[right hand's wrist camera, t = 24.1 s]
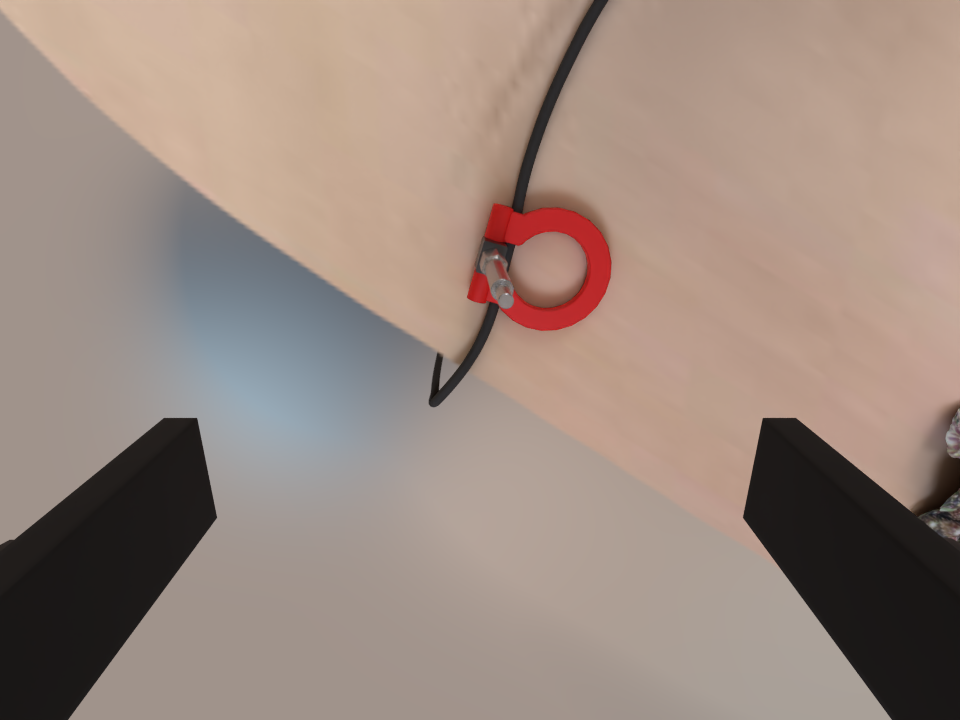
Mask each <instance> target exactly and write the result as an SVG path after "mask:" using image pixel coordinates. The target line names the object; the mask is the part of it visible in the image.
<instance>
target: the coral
mask: <svg viewBox="0 0 960 720" xmlns="http://www.w3.org/2000/svg"><path fill="white" fill-rule="evenodd" d="M946 442H947V444H948V445H947V447H948V449H947V452H948V454H949V455H950V456H951V457H953V458H960V408H959V409H958V411H957V413H956V415H955V416H954V417H953V421H952V424H951V425H950V429H949V430H948V432H947V434H946ZM940 508H941V509H937V510H933V511H930V512H927V513H925V514H922V515H920V516H918V518H919V519H921V520H922V521H923V522H924V523H926V524H927V525H928V526H929V527H930V528H932V529H933V530H934V531H935V532H937V533H938V534H939V535H940V536H942V537H943V538H952V539H954V540H956V541H958V542H959V543H960V488H959V490H958V491H957V492H956V493H955V494H953V495H952V496H951V497H949V498H948V499H947V500H946V502H945V503H944V504H943V505H942V506H941V507H940Z"/></svg>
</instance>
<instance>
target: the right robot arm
mask: <svg viewBox="0 0 960 720" xmlns="http://www.w3.org/2000/svg"><path fill="white" fill-rule="evenodd" d="M607 2H608V0H594V2H593V3H592V5H591V7H590V8H589V10H588V12H587V13H586V15H585V17H584V19H583V20H582V22H581V24H580V26H579V28H578V30H577V32H576V34H575V36H574V38H573V40H572V41H571V44H570V46H569V48H568V50H567V52H566V54H565V56H564V58H563V60H562V62H561V64H560V66H559V68H558V71H557V73H556V75H555V77H554V79H553V82H552V84H551V86H550V88H549V91H548V93H547V95H546V98H545V100H544V103H543V105H542V108H541V110H540V113H539V115H538V118H537V121H536V123H535V126H534V129H533V132H532V135H531V138H530V141H529V144H528V147H527V150H526V153H525V156H524V159H523V163H522V167H521V170H520V174H519V178H518V182H517V187H516V191H515V196H514V201H513V206H512V209H514V210H513V211H514V212H517V213H521V214H522V211H523V206H524V201H525V196H526V191H527V187H528V183H529V179H530V175H531V171H532V168H533V164H534V161H535V158H536V155H537V152H538V149H539V146H540V143H541V140H542V137H543V134H544V131H545V129H546V126H547V123H548V121H549V118H550V115H551V113H552V110H553V108H554V105H555V103H556V101H557V98H558V96H559V94H560V92H561V89H562V87H563V85H564V83H565V81H566V78H567V76H568V74H569V72H570V70H571V68H572V66H573V64H574V62H575V60H576V58H577V56H578V54H579V52H580V50H581V48H582V46H583V44H584V42H585V40H586V38H587V36H588V34H589V32H590V30H591V29H592V27H593V25H594V23H595V22H596V20H597V18H598V16H599V15H600V13H601V11H602V10H603V8H604V6H605V5H606V3H607ZM505 244H506V246H507V248H508V249H507V253H506V256H505V259H506V261H507V263H508V266H507V269H506V271H507V273H508V270H509V266H510V262H511V259H512V255H513V251H514V248H515V245H514V244H511V243H507V242H505ZM498 309H499V305H498V304H496V303H493V302H490V304H489V307H488V310H487V314H486V316H485V319H484V322H483V325H482V327H481V329H480V332H479V334H478V336H477V338H476V340H475V342H474V344H473V346H472V348H471V349H470V351H469V353H468V354H467V356H466V358H465V359H464V361H463V362H462V363H461V365H460V366H459V368H458V369H457V370H456V372H455V373H454V374H453V375H452V377H451V378H450V379H449V380H448V381H447V383H446V384H445V385H444V386H443V387H442V388H441V389H440V390H439V383H440V373H441V367H442V361H443V356H444V355H443V354H441V353H439V352H437V356H436V360H435V365H434V371H433V376H432V384H431V393H430V397H429V405H430V406H431V407H436V406H438V405H439V404H440V403H441V402H442V401H443V400H444V399H445V398H446V397H447V396H448V395H449V394H450V393H451V392H452V391H453V389H454V388H455V387H456V386H457V385H458V384H459V382H460V381H461V380H462V379H463V377H464V376H465V375H466V373H467V372H468V371H469V369H470V368H471V366H472V365H473V363H474V362H475V360H476V359H477V357H478V355H479V354H480V352H481V350H482V348H483V346H484V344H485V342H486V340H487V338H488V336H489V334H490V331H491V329H492V326H493V324H494V321H495V318H496V315H497V312H498ZM216 518H217V516H216V510H215V505H214V500H213V495H212V490H211V485H210V480H209V475H208V470H207V465H206V460H205V455H204V450H203V445H202V440H201V435H200V430H199V425H198V420H197V418H164V419H162V420H161V421H160V422H159V423H157V424H156V425H155V426H154V427H152V428H151V429H150V430H149V431H148V432H146V433H145V434H144V435H143V436H141V437H140V438H139V439H138V440H137V441H135V442H134V443H133V444H132V445H130V446H129V447H128V448H127V449H125V450H124V451H123V452H122V453H121V454H119V455H118V456H117V457H116V458H114V459H113V460H112V461H111V462H109V463H108V464H107V465H106V466H105V467H103V468H102V469H101V470H100V471H98V472H97V473H96V474H95V475H94V476H92V477H91V478H90V479H89V480H87V481H86V482H85V483H84V484H82V485H81V486H80V487H79V488H78V489H76V490H75V491H74V492H73V493H71V494H70V495H69V496H68V497H66V498H65V499H64V500H63V501H62V502H60V503H59V504H58V505H57V506H55V507H54V508H53V509H52V510H51V511H49V512H48V513H47V514H46V515H44V516H43V517H42V518H41V519H39V520H38V521H37V522H36V523H35V524H33V525H32V526H31V527H30V528H28V529H27V530H26V531H25V532H23V533H22V534H21V535H20V536H18V537H17V538H16V539H15V540H9V541H7V542H5V543H3V544H1V545H0V720H68V719H69V718H70V716H71V715H72V714H73V712H74V711H75V710H76V708H77V707H78V705H79V704H80V703H81V701H82V700H83V699H84V697H85V696H86V695H87V693H88V692H89V691H90V689H91V688H92V686H93V685H94V684H95V682H96V681H97V680H98V678H99V677H100V676H101V674H102V673H103V672H104V670H105V669H106V668H107V666H108V665H109V663H110V662H111V661H112V659H113V658H114V657H115V655H116V654H117V653H118V651H119V650H120V648H121V647H122V646H123V644H124V643H125V642H126V640H127V639H128V638H129V636H130V635H131V634H132V632H133V631H134V630H135V628H136V627H137V625H138V624H139V623H140V621H141V620H142V619H143V617H144V616H145V615H146V613H147V612H148V611H149V609H150V608H151V607H152V605H153V604H154V602H155V601H156V600H157V598H158V597H159V596H160V594H161V593H162V592H163V590H164V589H165V588H166V586H167V585H168V583H169V582H170V581H171V579H172V578H173V577H174V575H175V574H176V573H177V571H178V570H179V569H180V567H181V566H182V564H183V563H184V562H185V560H186V559H187V558H188V556H189V555H190V554H191V552H192V551H193V550H194V548H195V547H196V545H197V544H198V543H199V541H200V540H201V539H202V537H203V536H204V535H205V533H206V532H207V530H208V529H209V528H210V527H211V525H212V524H213V522H214V521H215V520H216ZM743 518H744V520H745V521H746V522H747V524H748V525H749V527H750V528H751V529H752V531H753V532H754V533H755V535H756V536H757V537H758V539H759V540H760V541H761V543H762V544H763V545H764V547H765V548H766V550H767V551H768V552H769V554H770V555H771V556H772V558H773V559H774V560H775V562H776V563H777V564H778V566H779V567H780V569H781V570H782V571H783V573H784V574H785V575H786V577H787V578H788V579H789V581H790V582H791V583H792V585H793V586H794V587H795V589H796V590H797V592H798V593H799V594H800V596H801V597H802V598H803V600H804V601H805V602H806V604H807V605H808V606H809V608H810V609H811V610H812V612H813V613H814V615H815V616H816V617H817V619H818V620H819V621H820V623H821V624H822V625H823V627H824V628H825V630H826V631H827V632H828V634H829V635H830V636H831V638H832V639H833V640H834V642H835V643H836V644H837V646H838V647H839V649H840V650H841V651H842V652H843V654H844V655H845V657H846V658H847V659H848V661H849V662H850V663H851V665H852V666H853V668H854V669H855V670H856V672H857V673H858V674H859V676H860V677H861V678H862V680H863V681H864V682H865V684H866V685H867V687H868V688H869V689H870V691H871V692H872V693H873V695H874V696H875V697H876V699H877V700H878V701H879V703H880V704H881V705H882V707H883V708H884V710H885V711H886V712H887V714H888V715H889V716H890V718H891V719H892V720H960V543H959V542H958V541H956V540H954V539H952V538H943V537H942V536H940V535H939V534H938V533H937V532H935V531H934V530H933V529H932V528H930V527H929V526H928V525H927V524H926V523H924V522H923V521H922V520H921V519H919V518H918V517H917V516H916V515H914V514H913V513H912V512H911V511H910V510H908V509H907V508H906V507H905V506H903V505H902V504H901V503H900V502H898V501H897V500H896V499H895V498H894V497H892V496H891V495H890V494H889V493H887V492H886V491H885V490H884V489H883V488H881V487H880V486H879V485H878V484H876V483H875V482H874V481H873V480H871V479H870V478H869V477H868V476H867V475H865V474H864V473H863V472H862V471H860V470H859V469H858V468H857V467H855V466H854V465H853V464H852V463H851V462H849V461H848V460H847V459H846V458H844V457H843V456H842V455H841V454H839V453H838V452H837V451H836V450H835V449H833V448H832V447H831V446H830V445H828V444H827V443H826V442H825V441H823V440H822V439H821V438H820V437H819V436H817V435H816V434H815V433H814V432H812V431H811V430H810V429H809V428H808V427H806V426H805V425H804V424H803V423H801V422H800V421H799V420H798V419H796V418H763V420H762V425H761V430H760V435H759V440H758V445H757V450H756V455H755V460H754V465H753V470H752V475H751V480H750V485H749V490H748V495H747V500H746V505H745V510H744V515H743Z"/></svg>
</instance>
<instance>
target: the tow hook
mask: <svg viewBox="0 0 960 720" xmlns="http://www.w3.org/2000/svg"><path fill="white" fill-rule="evenodd" d="M513 210H514V209H512V208H510V207H507V206H504V205H501V204H496V203H494V204H493V208H492V211H491V215H490V218H489V222H488V225H487V229H486V232H485V236H483V238H482V241H481V245H480V248H479V252H478V255H477V259H476V262H475V271H474V274H473V278H472V281H471V285H470V288H469V292H468V295H467V298H468V299H470V300H472V301H474V302H477V303H486V301H489V302H493V303H496V304H498V305H499V307H500V308H501V310H502V311H503V312H504V313H505V314H506V315H507V316H508V317H510V318H511V319H512V320H513V321H515V322H517V323H519V324H521V325H523V326H525V327H527V328H531V329H536V330H541V331H545V330H558V329H562V328H565V327H569V326H572V325H573V324H575V323H577V322H579V321H580V320H582V319H584V318H585V317H586V316H587V315H589V314H590V313H591V312H592V311H593V310H594V309H595V308H596V307H597V305H598V304H599V302H600V301H601V299H602V297H603V296H604V294H605V293H606V289H607V286H608V283H609V280H610V275H611V258H610V253H609V248H608V245H607V243H606V241H605V239H604V237H603V235H602V233H601V232H600V231H599V230H598V229H597V228H596V227H595V225H594V224H593V223H592V222H591V221H590V220H588V219H586V218H585V217H583V216H581V215H579V214H578V213H576V212H574V211H570V210H566V209H562V208H558V207H556V208H540V209H537V210H533V211H530V212H527V213H525V214H521V213H517V212H514V211H513ZM555 231H556V232H560V233H565V234H567V235H569V236H571V237H573V238H574V239H575V240H576V241H577V242H578V243H579V244H580V245H581V247H582V248H583V250H584V252H585V254H586V259H587V263H588V266H587V276H586V279H585V282H584V285H583V286H582V288H581V289H580V291H579V293H578V294H577V295H576V296H575V297H574V298H573V299H571V300H570V301H568V302H566V303H565V304H563V305H560V306H557V307H554V308H540V307H536V306H532V305H531V304H529V303H527V302H525V301H524V300H523V299H522V298H520V297H519V296H518V295H517V293H516V291H515V290H514V287H513V285H512V282H511V279H510V278H509V275H508V273H507V271H506V269H507V266H508V263H507V261H506V259H505V256H506V253H507V249H508V248H507V246H506V244H505V242H507V243H511V244H514V245H518V246H519V245H522V244H523V243H524V242H525V241H526V240H528V239H530V238H531V237H533V236H534V235H537V234H540V233H543V232H555Z"/></svg>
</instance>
